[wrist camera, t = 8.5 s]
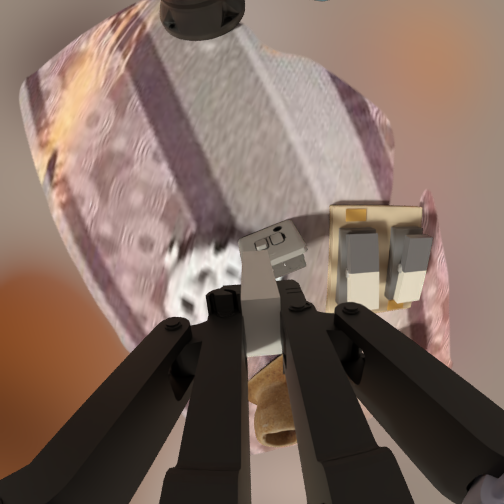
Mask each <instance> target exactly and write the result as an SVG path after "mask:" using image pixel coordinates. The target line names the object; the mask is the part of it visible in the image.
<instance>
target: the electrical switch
mask: <svg viewBox="0 0 504 504" xmlns="http://www.w3.org/2000/svg"><path fill="white" fill-rule="evenodd" d="M238 245H239V251H240V256H241V261H242V252H246V251H259V250H267V251H268V254H269V258H270V262H271V265H272V266H273V267H272V269H273V272H274V276H275V279H276V278H278V277H281V276H283V275H286V274H289V273H291V272H294V271H296V270H299V269H301V268H303V267H306V263H305V260H304V255H303V253H306V251H307V250H308V249H307V246H306V244H305V242H304V241H303V239H302V237H301V236H300V234H299V232H298V231H297V229H296V227H295V226H294V224H293V222H292V221H291V220H286V221H283V222H281V223H278V224H276V225H273V226H271V227H268V228H266V229H263V230H261V231H258V232H256V233H253V234H251V235H248V236H246V237H243V238H241V239H239V241H238ZM282 262H283V263H282ZM284 263H285V265H286V266H284ZM298 266H299V267H298ZM291 268H292V269H291Z"/></svg>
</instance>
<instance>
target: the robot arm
mask: <svg viewBox="0 0 504 504" xmlns="http://www.w3.org/2000/svg"><path fill="white" fill-rule="evenodd" d="M316 1H327V0H316ZM244 12H245V0H161V3H160V19H161V22H162V24H163V26H164V27H165V29H166V30H167V31H168V32H169V33H170V34H171V35H173V36H174V37H177V38H179V39H183V40H189V41H201V40H208V39H212V38H215V37H218V36H221V35H223V34H225V33H227V32H228V31H230V30H231V29H233V28H234V27H235V26H236V25H237V24H238V23H239V22H240V21H241V19H242V17H243V15H244ZM206 301H207V307H208V314H209V315H208V320H207V321H205V322H203V323H200V324H196V325H192V326H190V322H189V320H187V319H186V318H182V317H172V318H168V319H166V320H163V321H162V322H160V323H159V324H158V325H157V326H156V327H155V328H154V329H153V330H152V331H151V332H150V333H149V334H148V335H147V336H146V337H145V338H144V340H143V341H142V342H141V343H140V344H139V345H138V346H137V347H136V348H135V349H134V350H133V351H132V352H131V353H130V354H129V355H128V356H127V357H126V359H125V360H124V361H123V362H122V363H121V364H120V365H119V366H118V367H117V368H116V369H115V370H114V372H112V373H111V375H110V376H109V377H108V378H107V379H106V380H105V381H104V382H103V383H102V384H101V385H100V386H99V387H98V389H97V390H96V391H95V392H94V393H93V394H92V395H91V396H90V397H89V398H88V399H87V400H86V402H85V403H84V404H83V405H82V406H81V407H80V408H79V409H78V410H77V411H76V412H75V414H74V415H73V416H72V417H71V418H70V419H69V420H68V421H67V422H66V424H65V425H64V426H63V427H62V428H61V429H60V430H59V431H58V433H56V435H55V436H54V437H53V438H52V439H51V440H50V441H49V442H48V444H47V445H46V446H45V447H44V448H43V449H42V451H40V453H39V454H38V455H37V456H36V457H35V458H34V459H33V461H32V462H31V463H30V464H29V465H27V466H25V467H23V468H22V469H20V470H18V471H16V472H14V473H12V474H11V475H9V476H7V477H5V478H3V479H1V480H0V504H129V502H130V501H131V499H132V497H133V496H134V494H135V492H136V491H137V489H138V487H139V485H140V484H141V482H142V481H143V479H144V477H145V475H146V474H147V472H148V470H149V469H150V467H151V465H152V463H153V462H154V460H155V458H156V457H157V455H158V453H159V451H160V450H161V448H162V446H163V444H164V443H165V441H166V439H167V437H168V436H169V434H170V432H171V430H172V429H173V427H174V425H175V423H176V421H177V420H178V418H179V416H180V415H181V413H182V411H183V409H184V408H185V406H186V404H187V402H188V400H189V399H190V401H189V406H188V411H187V416H186V422H185V426H184V431H183V436H182V442H181V447H180V452H179V457H178V462H177V465H176V466H175V467H173V468H169V470H168V471H167V472H166V475H165V478H164V481H163V487H162V492H161V497H160V502H159V504H251V478H250V477H251V476H250V441H249V401H248V363H247V357H252V356H265V355H276V354H282V351H283V374H285V376H286V382H287V387H288V393H289V398H290V404H291V409H292V415H293V421H294V426H295V432H296V438H297V443H298V449H299V455H300V461H301V467H302V473H303V479H304V485H305V490H306V496H307V504H414V501H413V499H412V496H411V494H410V491H409V489H408V486H407V484H406V482H405V479H404V477H403V475H402V472H401V470H400V468H399V465H398V463H397V461H396V458H395V456H394V455H393V453H392V451H391V450H390V449H389V448H387V447H379V446H378V445H377V443H376V441H375V439H374V437H373V434H372V432H371V430H370V427H369V425H368V423H367V420H366V418H365V416H364V413H363V411H362V409H361V406H360V404H359V402H358V399H359V400H360V401H361V403H362V404H363V405H364V406H365V407H366V408H367V410H368V411H369V412H370V413H371V414H372V415H373V417H374V418H375V419H376V420H377V421H378V422H379V424H380V425H381V426H382V427H383V428H384V429H385V431H386V432H387V433H388V434H389V435H390V436H391V438H392V439H393V440H394V441H395V442H396V443H397V444H398V446H399V447H400V448H401V449H402V450H403V451H404V453H405V454H406V455H407V456H408V457H409V458H410V460H411V461H412V462H413V463H414V464H415V465H416V466H417V468H418V469H419V470H420V471H421V472H422V473H423V474H424V475H425V477H426V478H427V479H428V480H429V481H430V482H431V483H432V484H433V486H434V487H435V488H436V489H437V490H438V491H439V492H440V493H441V494H442V495H444V496H445V497H447V498H448V499H449V500H451V501H452V502H454V503H456V504H504V410H503V409H502V408H500V407H499V406H498V405H496V404H495V403H494V402H493V401H491V400H490V399H489V398H487V397H486V396H485V395H484V394H482V393H481V392H480V391H478V390H477V389H476V388H475V387H473V386H472V385H471V384H470V383H468V382H467V381H466V380H464V379H463V378H462V377H460V376H459V375H458V374H456V373H455V372H454V371H452V370H451V369H450V368H449V367H447V366H446V365H445V364H443V363H442V362H441V361H439V360H438V359H437V358H435V357H434V356H433V355H431V354H430V353H428V352H427V351H426V350H424V349H423V348H422V347H420V346H419V345H418V344H416V343H415V342H414V341H412V340H411V339H410V338H408V337H407V336H405V335H404V334H403V333H401V332H400V331H399V330H397V329H396V328H394V327H393V326H392V325H390V324H389V323H388V322H386V321H385V320H383V319H382V318H381V317H379V316H378V315H376V314H375V313H374V312H372V311H371V310H370V309H368V308H367V307H365V306H364V305H362V304H359V303H355V302H346V303H341V304H339V305H337V306H336V307H335V310H334V313H323V312H318V311H317V310H316V308H315V306H314V305H313V304H312V303H310V302H308V301H306V299H305V296H304V294H303V292H302V290H301V288H300V285H299V283H297V282H296V281H294V280H281V281H276V280H275V276H274V272H273V269H272V265H271V262H270V258H269V254H268V251H267V250H259V251H246V252H242V277H241V285H227V286H223V287H221V288H220V289H216V290H212V291H211V292H209V293H208V294H207V295H206ZM362 351H363V353H364V354H363V353H362ZM357 398H358V399H357Z"/></svg>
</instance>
